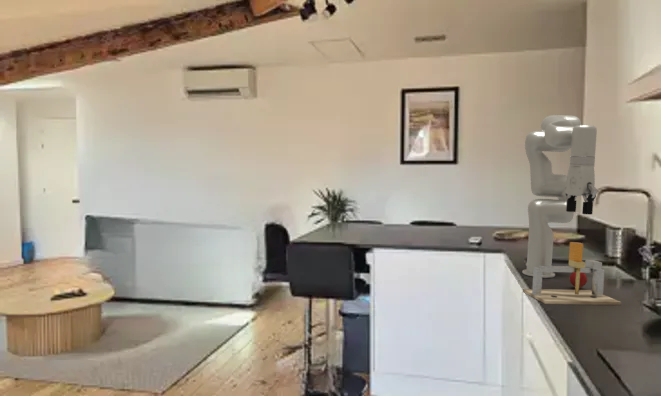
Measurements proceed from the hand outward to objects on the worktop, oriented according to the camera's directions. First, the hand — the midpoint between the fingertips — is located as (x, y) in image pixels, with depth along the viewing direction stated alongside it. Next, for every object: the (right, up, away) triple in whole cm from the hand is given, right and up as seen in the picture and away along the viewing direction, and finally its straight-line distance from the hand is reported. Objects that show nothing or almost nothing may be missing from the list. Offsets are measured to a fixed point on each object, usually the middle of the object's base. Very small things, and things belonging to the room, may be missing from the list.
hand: (578, 212), depth 178 cm
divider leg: (-1, -27, +1) cm, 27 cm away
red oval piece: (+8, -29, +17) cm, 34 cm away
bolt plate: (-2, -29, +2) cm, 29 cm away
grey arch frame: (-3, -28, +1) cm, 28 cm away
